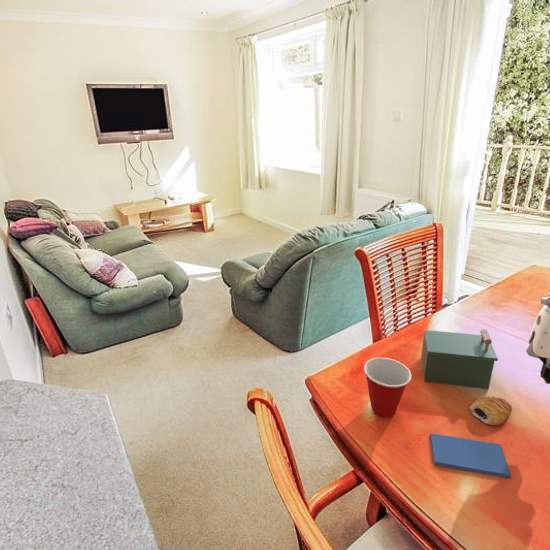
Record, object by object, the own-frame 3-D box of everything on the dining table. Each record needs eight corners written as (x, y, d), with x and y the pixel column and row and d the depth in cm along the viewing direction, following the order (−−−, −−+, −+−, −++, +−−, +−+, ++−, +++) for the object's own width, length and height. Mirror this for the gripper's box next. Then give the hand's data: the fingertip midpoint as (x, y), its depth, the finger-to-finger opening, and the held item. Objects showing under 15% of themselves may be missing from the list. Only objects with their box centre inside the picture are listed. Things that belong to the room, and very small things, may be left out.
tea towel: (499, 445, 80) (500, 442, 80) (510, 478, 73) (511, 475, 73) (430, 434, 84) (430, 431, 84) (434, 464, 77) (434, 461, 77)
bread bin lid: (487, 338, 102) (490, 324, 100) (497, 361, 93) (500, 346, 91) (424, 332, 106) (425, 318, 105) (427, 354, 97) (429, 339, 95)
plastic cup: (415, 422, 88) (421, 381, 83) (372, 429, 86) (374, 388, 82) (395, 391, 98) (398, 353, 93) (355, 397, 96) (357, 359, 92)
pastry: (493, 398, 93) (496, 386, 92) (519, 416, 88) (522, 403, 86) (466, 411, 90) (468, 398, 88) (491, 430, 84) (494, 418, 83)
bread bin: (479, 364, 106) (484, 337, 102) (488, 389, 96) (494, 361, 93) (421, 358, 110) (424, 332, 106) (424, 381, 101) (427, 354, 97)
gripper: (534, 310, 73) (514, 386, 80) (627, 318, 69) (597, 397, 76) (522, 294, 79) (504, 365, 87) (606, 300, 75) (580, 374, 83)
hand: (548, 380), depth 81 cm, fingers closed
